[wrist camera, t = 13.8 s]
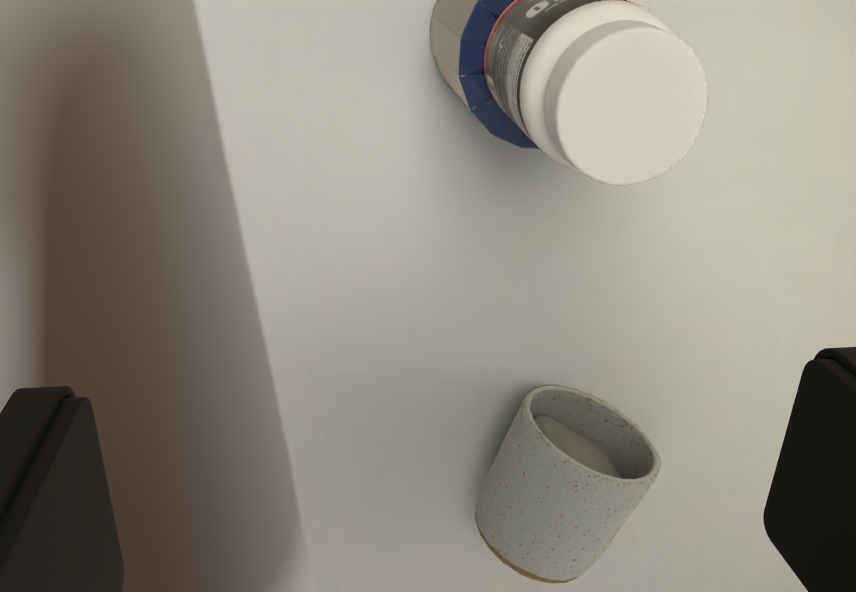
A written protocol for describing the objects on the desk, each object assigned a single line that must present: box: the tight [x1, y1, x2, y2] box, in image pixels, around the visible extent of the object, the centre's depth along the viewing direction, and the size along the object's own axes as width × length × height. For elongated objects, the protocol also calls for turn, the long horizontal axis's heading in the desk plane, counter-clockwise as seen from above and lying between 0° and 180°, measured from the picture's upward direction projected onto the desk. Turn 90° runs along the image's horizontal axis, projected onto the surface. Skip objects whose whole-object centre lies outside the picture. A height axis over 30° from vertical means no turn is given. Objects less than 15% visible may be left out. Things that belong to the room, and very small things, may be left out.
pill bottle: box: [484, 0, 708, 185], centre depth 23 cm, size 5×5×8 cm
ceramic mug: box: [475, 385, 661, 583], centre depth 41 cm, size 11×8×8 cm
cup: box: [430, 0, 627, 149], centre depth 30 cm, size 6×6×8 cm
